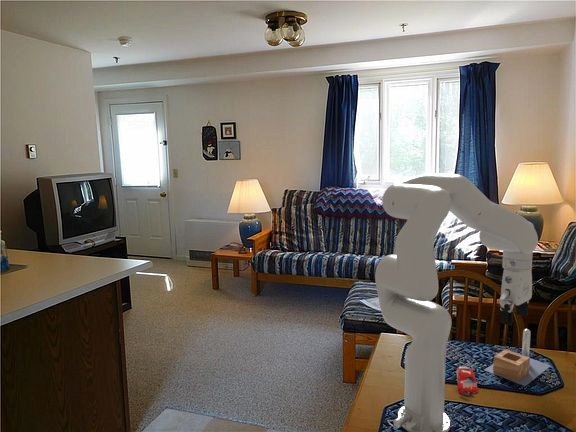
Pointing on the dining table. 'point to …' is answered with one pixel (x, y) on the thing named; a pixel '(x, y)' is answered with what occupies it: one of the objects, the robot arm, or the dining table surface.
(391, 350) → the dining table surface
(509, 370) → the light brown hollow block
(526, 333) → the white rounded rod
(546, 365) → the grey flat plate
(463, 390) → the race car
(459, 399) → the dining table surface
